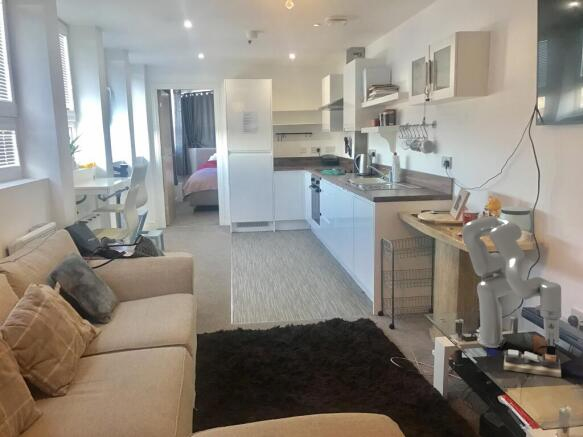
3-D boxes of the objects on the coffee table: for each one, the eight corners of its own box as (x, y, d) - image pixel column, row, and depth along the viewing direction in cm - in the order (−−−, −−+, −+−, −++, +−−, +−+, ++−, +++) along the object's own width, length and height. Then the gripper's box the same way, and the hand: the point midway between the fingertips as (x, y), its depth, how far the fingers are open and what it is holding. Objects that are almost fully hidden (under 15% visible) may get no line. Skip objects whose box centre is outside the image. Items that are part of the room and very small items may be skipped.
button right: (545, 362, 190) (545, 358, 189) (544, 358, 193) (544, 353, 193) (556, 364, 188) (556, 359, 188) (555, 359, 191) (555, 354, 191)
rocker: (524, 357, 193) (524, 354, 193) (524, 352, 197) (525, 350, 196) (538, 362, 191) (539, 359, 191) (538, 357, 194) (539, 355, 194)
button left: (508, 358, 196) (507, 353, 196) (508, 353, 200) (508, 349, 199) (518, 359, 194) (518, 355, 194) (518, 355, 198) (518, 350, 198)
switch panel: (503, 369, 194) (503, 359, 193) (505, 356, 205) (505, 346, 204) (561, 377, 184) (561, 367, 184) (559, 362, 195) (559, 353, 194)
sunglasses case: (556, 359, 197) (547, 346, 198) (540, 365, 200) (531, 352, 201) (551, 341, 213) (543, 329, 214) (537, 346, 216) (528, 335, 217)
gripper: (562, 320, 178) (562, 363, 182) (560, 306, 191) (560, 347, 194) (540, 318, 182) (541, 361, 185) (539, 305, 195) (540, 344, 198)
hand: (551, 353), depth 190 cm, fingers closed
